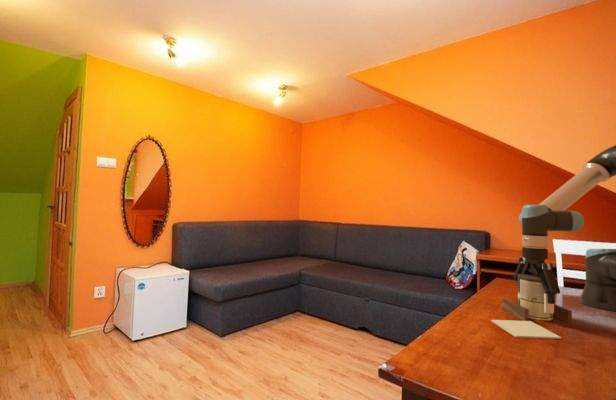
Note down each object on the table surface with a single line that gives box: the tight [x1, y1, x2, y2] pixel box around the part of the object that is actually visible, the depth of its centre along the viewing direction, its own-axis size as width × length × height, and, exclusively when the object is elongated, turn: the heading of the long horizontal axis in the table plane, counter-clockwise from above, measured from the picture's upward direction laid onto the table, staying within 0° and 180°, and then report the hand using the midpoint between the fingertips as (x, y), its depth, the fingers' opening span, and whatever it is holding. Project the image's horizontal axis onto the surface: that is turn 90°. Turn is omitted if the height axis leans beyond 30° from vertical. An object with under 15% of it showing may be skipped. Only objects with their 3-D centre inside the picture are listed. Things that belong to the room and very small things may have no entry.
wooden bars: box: [501, 297, 573, 324], centre depth 109 cm, size 15×13×4 cm
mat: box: [490, 319, 562, 340], centre depth 96 cm, size 13×13×1 cm
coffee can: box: [517, 273, 554, 321], centre depth 109 cm, size 10×10×14 cm
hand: (534, 306), depth 109 cm, fingers open, 13 cm apart
